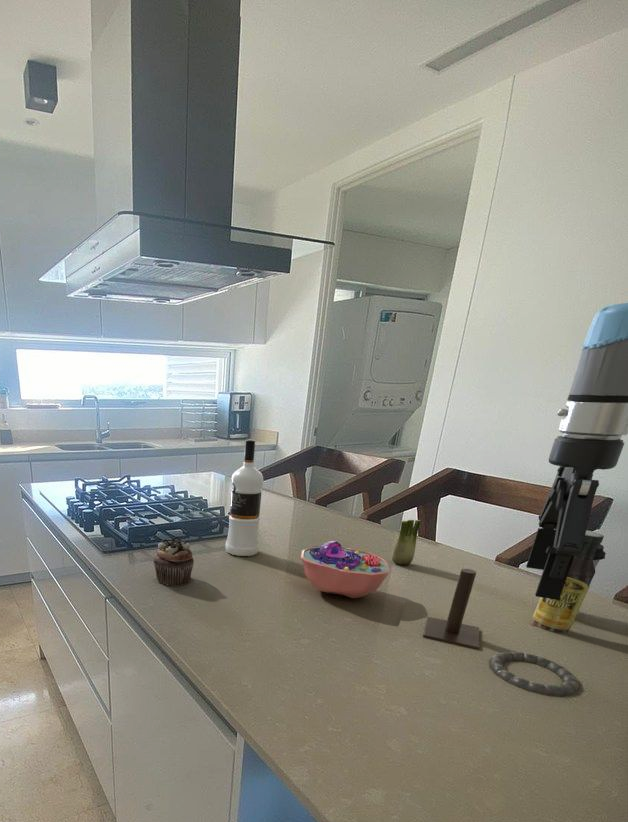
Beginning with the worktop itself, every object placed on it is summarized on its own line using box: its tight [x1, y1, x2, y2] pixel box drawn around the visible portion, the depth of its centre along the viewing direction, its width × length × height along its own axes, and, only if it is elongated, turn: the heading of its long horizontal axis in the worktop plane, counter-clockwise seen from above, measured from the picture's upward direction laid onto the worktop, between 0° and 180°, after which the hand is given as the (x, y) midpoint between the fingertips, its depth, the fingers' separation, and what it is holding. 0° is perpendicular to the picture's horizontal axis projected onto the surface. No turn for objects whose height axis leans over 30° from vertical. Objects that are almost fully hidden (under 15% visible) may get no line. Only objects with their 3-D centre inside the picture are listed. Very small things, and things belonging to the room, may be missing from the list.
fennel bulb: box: [391, 519, 422, 566], centre depth 127 cm, size 6×5×12 cm
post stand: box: [422, 568, 480, 651], centre depth 89 cm, size 9×9×14 cm
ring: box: [488, 651, 580, 697], centre depth 79 cm, size 12×12×2 cm
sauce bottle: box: [530, 530, 605, 634], centre depth 91 cm, size 7×6×20 cm
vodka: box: [225, 439, 264, 557], centre depth 129 cm, size 9×9×30 cm
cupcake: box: [152, 537, 195, 586], centre depth 114 cm, size 10×10×10 cm
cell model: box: [300, 540, 392, 599], centre depth 108 cm, size 17×20×11 cm
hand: (540, 582), depth 74 cm, fingers open, 13 cm apart
